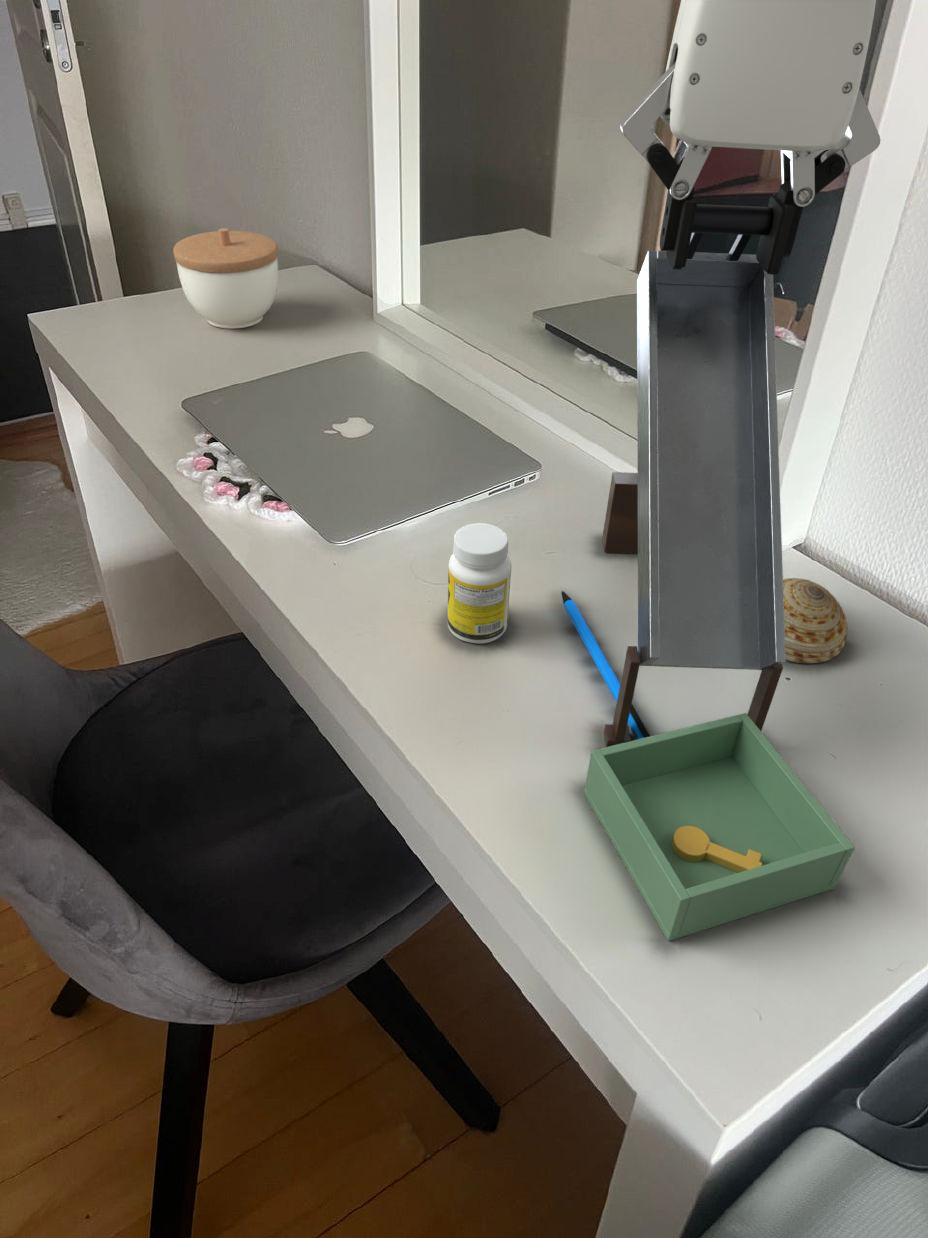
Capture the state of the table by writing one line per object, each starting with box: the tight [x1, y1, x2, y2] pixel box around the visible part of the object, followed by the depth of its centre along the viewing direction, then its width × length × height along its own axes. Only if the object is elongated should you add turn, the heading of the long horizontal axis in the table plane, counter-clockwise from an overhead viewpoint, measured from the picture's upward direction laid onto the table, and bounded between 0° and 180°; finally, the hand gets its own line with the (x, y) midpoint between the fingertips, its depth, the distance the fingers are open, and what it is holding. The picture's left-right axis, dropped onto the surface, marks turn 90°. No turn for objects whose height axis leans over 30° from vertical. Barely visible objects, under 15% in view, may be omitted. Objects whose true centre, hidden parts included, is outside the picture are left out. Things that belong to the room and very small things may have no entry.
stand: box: [601, 471, 784, 748], centre depth 69 cm, size 25×11×8 cm, turn 179°
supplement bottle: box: [447, 522, 512, 645], centre depth 69 cm, size 5×5×8 cm
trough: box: [636, 203, 787, 671], centre depth 57 cm, size 28×8×8 cm
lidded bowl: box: [172, 227, 279, 330], centre depth 115 cm, size 13×13×11 cm
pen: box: [560, 590, 651, 740], centre depth 67 cm, size 1×19×1 cm, turn 15°
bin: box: [583, 712, 855, 942], centre depth 55 cm, size 11×11×4 cm
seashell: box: [783, 577, 848, 664], centre depth 72 cm, size 8×6×8 cm
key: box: [672, 826, 763, 873], centre depth 55 cm, size 5×2×1 cm, turn 63°
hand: (721, 261), depth 57 cm, fingers open, 5 cm apart
